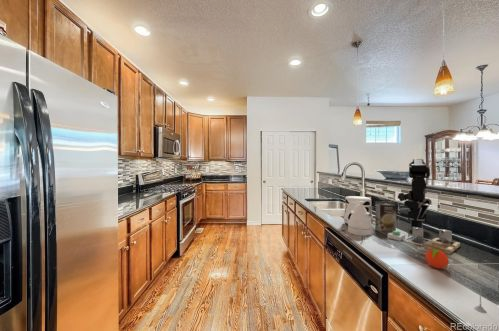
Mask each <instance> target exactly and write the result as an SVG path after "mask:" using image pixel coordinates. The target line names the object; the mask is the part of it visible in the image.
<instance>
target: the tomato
mask: <svg viewBox="0 0 499 331" xmlns="http://www.w3.org/2000/svg"><path fill="white" fill-rule="evenodd" d="M425 260H426V263H427V264H428V265H429V266H431V267H432V268H435V269H444V268H446V267H448V264H449V257H448V256H447V253H443V252H442V251H440V250H437V249H432V250H431V249H428V250H427V252H426V253H425Z"/></svg>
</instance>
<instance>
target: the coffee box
mask: <svg viewBox="0 0 499 331" xmlns="http://www.w3.org/2000/svg"><path fill="white" fill-rule="evenodd" d="M374 221H375V223H374V224H375V225H374V229H375V230H376V231H378V232H388V233H391V232H393V231H397V205H396V204H394V203H380V202H379V203H378V202H376V203H375V220H374Z"/></svg>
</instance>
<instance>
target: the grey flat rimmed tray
mask: <svg viewBox="0 0 499 331" xmlns="http://www.w3.org/2000/svg"><path fill="white" fill-rule="evenodd" d="M409 239H412V235H410V236H408V237H405V239H403V240H401V241H403V242H406V243H410V244H414V245H418V246H422V247H424V244H425V243H427V242H429V241H431V240H432V239H428V238H424V237H423V241H424V240H425V241H426V242H424V243H422V244H421V243H419V242H415V241H409Z"/></svg>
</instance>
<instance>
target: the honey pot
mask: <svg viewBox="0 0 499 331" xmlns="http://www.w3.org/2000/svg"><path fill="white" fill-rule="evenodd" d="M359 203H360V204H358V205H357V206H356V207H355V208H354V210H353V211H351V213H352V214H351V216H350V219H349V221H348V224H347V232H348V233H349V232H350V234H353V235H355V236H360V237H361V236H365V237H367V236H369V235H370V236H371V235H372V234H373V223H371V221H370V220H371V219H370V218H369V214H370V213H369V212H367V210H366V208H365V207H364V206H363V205H362V204H363V203H364V201H359Z"/></svg>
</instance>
